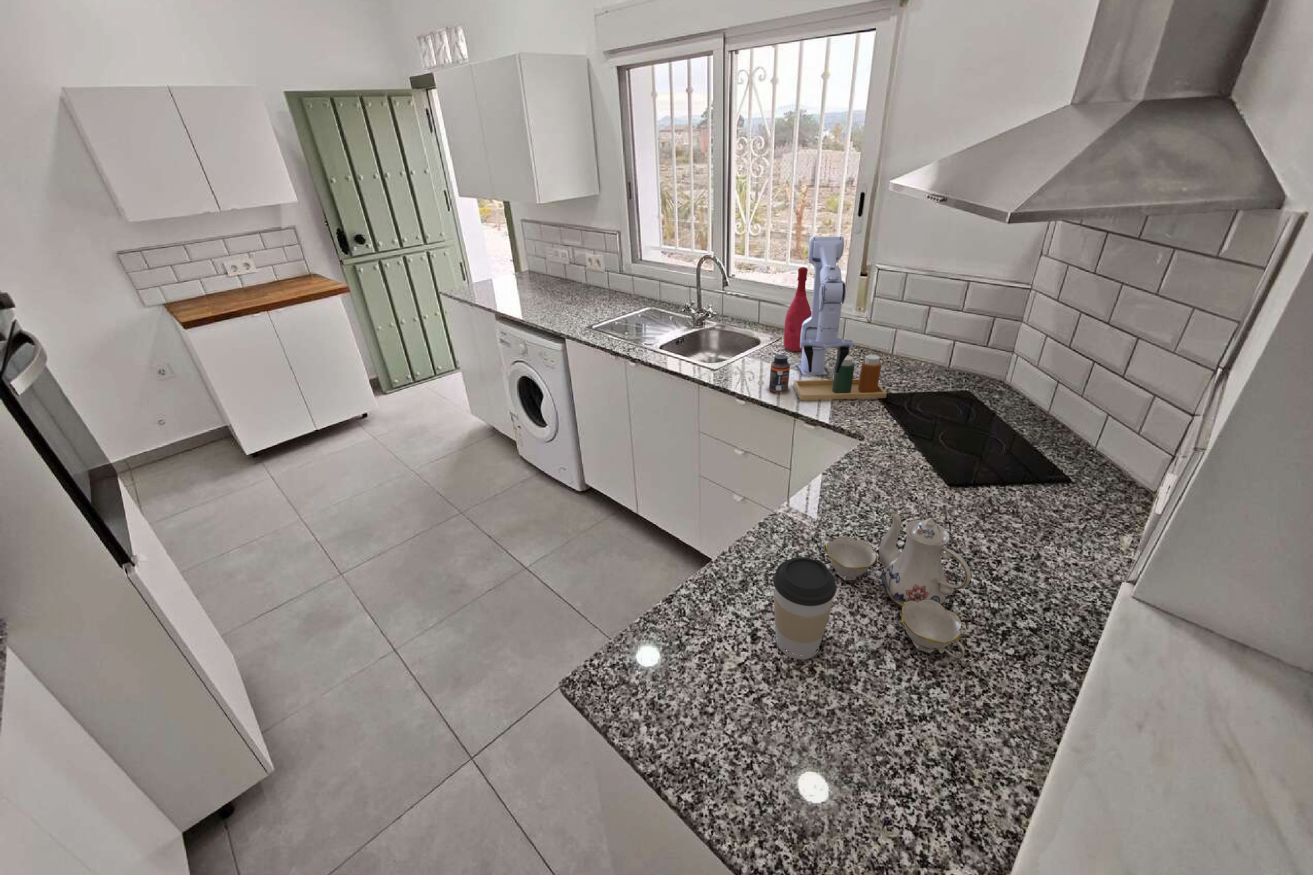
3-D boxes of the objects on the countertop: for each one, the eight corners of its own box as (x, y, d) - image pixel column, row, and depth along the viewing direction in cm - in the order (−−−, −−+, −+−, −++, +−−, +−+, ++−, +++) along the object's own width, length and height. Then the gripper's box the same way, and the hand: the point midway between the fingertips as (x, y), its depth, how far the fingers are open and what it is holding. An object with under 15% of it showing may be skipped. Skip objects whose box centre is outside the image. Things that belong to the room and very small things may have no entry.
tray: (793, 386, 174) (793, 380, 173) (873, 384, 173) (874, 378, 172) (800, 401, 164) (800, 395, 163) (885, 399, 163) (886, 393, 162)
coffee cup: (790, 674, 81) (799, 601, 73) (757, 630, 88) (762, 560, 81) (839, 652, 84) (851, 580, 76) (803, 612, 91) (811, 543, 84)
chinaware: (806, 574, 101) (807, 505, 92) (869, 536, 107) (876, 468, 98) (940, 687, 79) (958, 611, 71) (1010, 632, 85) (1034, 556, 77)
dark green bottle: (830, 387, 171) (834, 354, 165) (848, 387, 170) (852, 354, 165) (834, 394, 166) (838, 361, 160) (853, 394, 165) (857, 360, 160)
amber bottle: (855, 387, 170) (860, 354, 165) (873, 386, 170) (879, 353, 165) (860, 394, 165) (866, 360, 160) (879, 393, 165) (885, 360, 160)
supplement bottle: (782, 395, 168) (785, 361, 163) (765, 391, 171) (767, 357, 166) (791, 388, 172) (794, 355, 167) (774, 384, 176) (776, 351, 170)
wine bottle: (782, 343, 210) (787, 264, 196) (807, 344, 209) (815, 264, 195) (783, 352, 202) (790, 270, 188) (810, 352, 200) (819, 270, 186)
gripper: (803, 330, 149) (799, 376, 155) (857, 330, 147) (851, 376, 153) (801, 322, 155) (797, 367, 162) (853, 322, 153) (847, 367, 159)
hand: (823, 371), depth 158 cm, fingers open, 7 cm apart
